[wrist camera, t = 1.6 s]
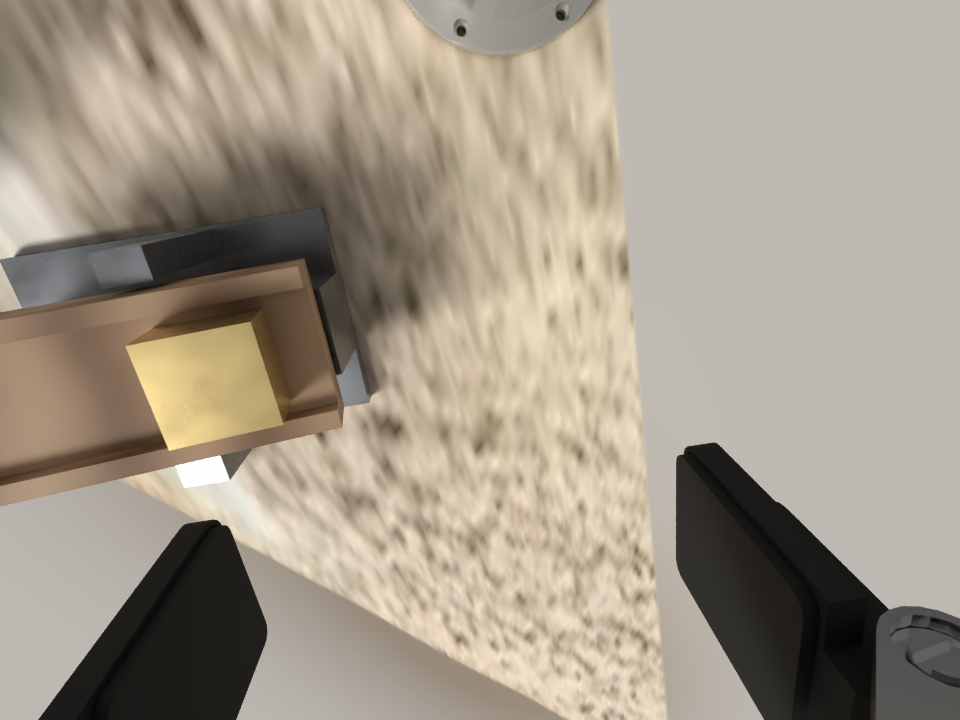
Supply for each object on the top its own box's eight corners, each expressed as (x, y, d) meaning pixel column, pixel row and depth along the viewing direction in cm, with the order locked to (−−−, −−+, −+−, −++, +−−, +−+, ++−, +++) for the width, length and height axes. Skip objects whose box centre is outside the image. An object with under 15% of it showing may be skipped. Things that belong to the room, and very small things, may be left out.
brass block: (263, 306, 24) (250, 321, 22) (292, 399, 26) (283, 424, 23) (153, 327, 24) (125, 346, 21) (190, 422, 25) (169, 450, 23)
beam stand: (323, 206, 31) (279, 217, 22) (371, 396, 35) (348, 463, 27) (12, 257, 31) (-147, 286, 22) (99, 441, 35) (-7, 523, 27)
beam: (304, 258, 26) (297, 266, 23) (344, 404, 29) (342, 427, 26) (-120, 333, 23) (-185, 353, 20) (-28, 488, 26) (-75, 523, 23)
